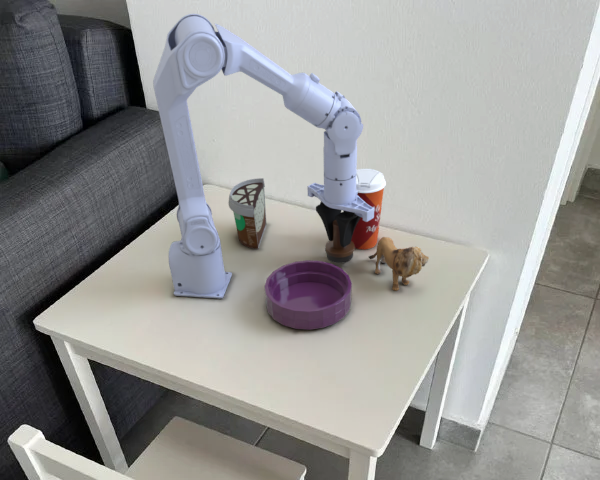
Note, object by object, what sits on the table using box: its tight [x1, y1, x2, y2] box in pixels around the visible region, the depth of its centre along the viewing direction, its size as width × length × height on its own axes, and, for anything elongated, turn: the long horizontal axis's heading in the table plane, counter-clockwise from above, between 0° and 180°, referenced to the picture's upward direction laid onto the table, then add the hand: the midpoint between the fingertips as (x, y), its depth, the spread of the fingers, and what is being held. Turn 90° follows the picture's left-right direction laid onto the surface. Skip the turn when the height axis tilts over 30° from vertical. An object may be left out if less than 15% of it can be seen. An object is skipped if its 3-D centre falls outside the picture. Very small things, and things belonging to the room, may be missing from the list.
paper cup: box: [351, 168, 387, 250], centre depth 122 cm, size 8×8×14 cm
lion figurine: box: [368, 236, 430, 292], centre depth 115 cm, size 15×5×9 cm, turn 33°
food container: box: [228, 177, 267, 250], centre depth 126 cm, size 12×6×10 cm, turn 172°
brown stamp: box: [324, 220, 356, 264], centre depth 118 cm, size 6×6×7 cm
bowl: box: [264, 259, 353, 331], centre depth 111 cm, size 15×15×4 cm
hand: (339, 241), depth 118 cm, fingers closed on brown stamp, 2 cm apart
